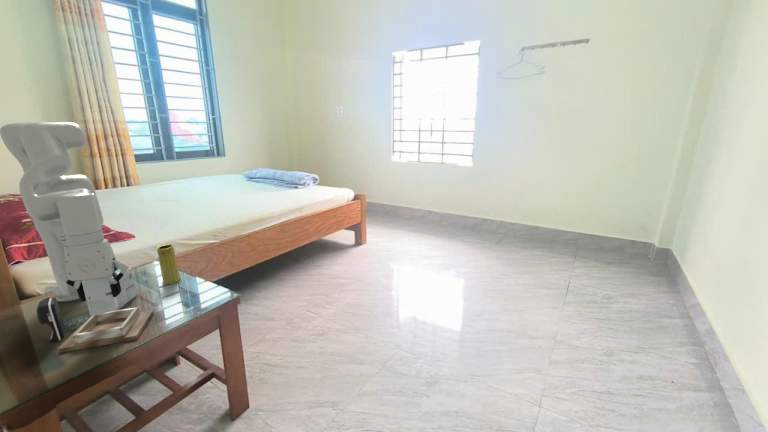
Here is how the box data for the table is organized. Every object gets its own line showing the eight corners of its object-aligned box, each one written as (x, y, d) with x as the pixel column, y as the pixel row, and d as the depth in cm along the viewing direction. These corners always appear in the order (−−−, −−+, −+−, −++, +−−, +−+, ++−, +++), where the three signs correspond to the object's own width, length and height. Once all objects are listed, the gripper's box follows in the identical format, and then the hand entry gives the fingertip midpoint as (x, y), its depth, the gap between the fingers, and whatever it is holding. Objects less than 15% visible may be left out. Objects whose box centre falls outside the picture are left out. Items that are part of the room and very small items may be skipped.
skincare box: (89, 317, 93) (78, 277, 90) (92, 310, 97) (81, 271, 93) (117, 310, 96) (107, 271, 93) (119, 303, 100) (109, 266, 97)
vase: (184, 279, 131) (177, 245, 127) (167, 286, 126) (160, 250, 122) (176, 276, 134) (169, 242, 131) (159, 282, 129) (152, 247, 126)
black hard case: (48, 334, 98) (37, 299, 95) (66, 329, 100) (55, 294, 97) (45, 345, 93) (33, 309, 90) (64, 340, 95) (53, 304, 92)
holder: (59, 352, 90) (55, 340, 89) (86, 324, 102) (83, 313, 101) (137, 339, 95) (134, 327, 94) (153, 313, 108) (151, 303, 107)
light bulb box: (118, 296, 119) (111, 268, 117) (138, 294, 120) (131, 267, 117) (96, 312, 109) (88, 282, 106) (118, 310, 110) (110, 280, 107)
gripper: (36, 246, 85) (56, 309, 89) (117, 238, 90) (132, 298, 94) (54, 237, 92) (72, 296, 96) (128, 230, 97) (141, 286, 101)
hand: (101, 296), depth 95 cm, fingers closed on skincare box, 6 cm apart
